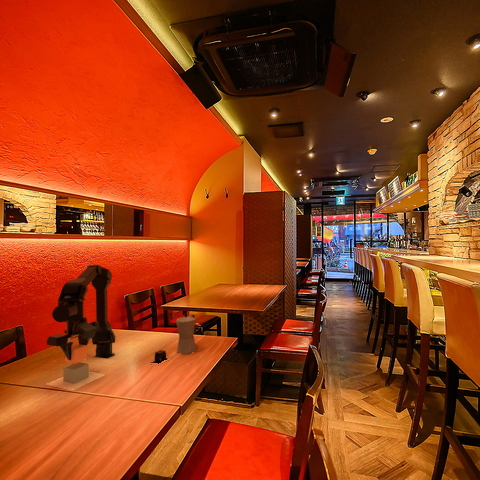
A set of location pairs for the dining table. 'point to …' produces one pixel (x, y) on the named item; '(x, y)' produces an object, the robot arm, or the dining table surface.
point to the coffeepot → (186, 334)
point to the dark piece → (160, 356)
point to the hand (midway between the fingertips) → (76, 357)
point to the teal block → (75, 372)
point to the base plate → (71, 386)
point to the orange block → (77, 353)
